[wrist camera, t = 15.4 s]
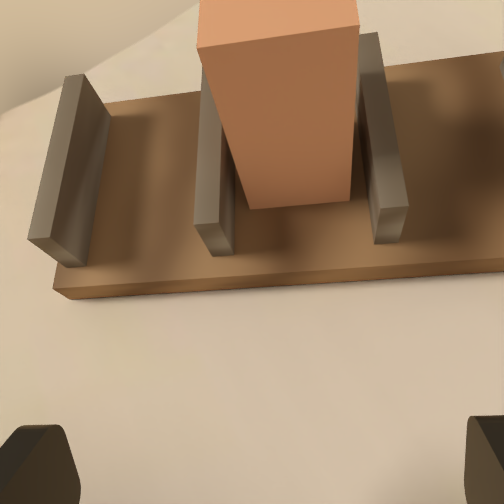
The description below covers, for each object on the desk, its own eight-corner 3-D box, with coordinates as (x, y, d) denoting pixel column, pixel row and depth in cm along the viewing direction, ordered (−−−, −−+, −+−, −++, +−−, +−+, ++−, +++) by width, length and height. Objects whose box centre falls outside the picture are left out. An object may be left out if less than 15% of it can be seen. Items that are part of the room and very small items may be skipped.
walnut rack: (69, 299, 22) (10, 262, 18) (100, 123, 27) (59, 63, 23) (584, 265, 19) (652, 211, 15) (516, 71, 23) (553, -10, 19)
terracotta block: (250, 209, 21) (196, 48, 13) (250, 132, 23) (203, -51, 15) (349, 200, 20) (359, 24, 12) (340, 122, 22) (344, -75, 14)
